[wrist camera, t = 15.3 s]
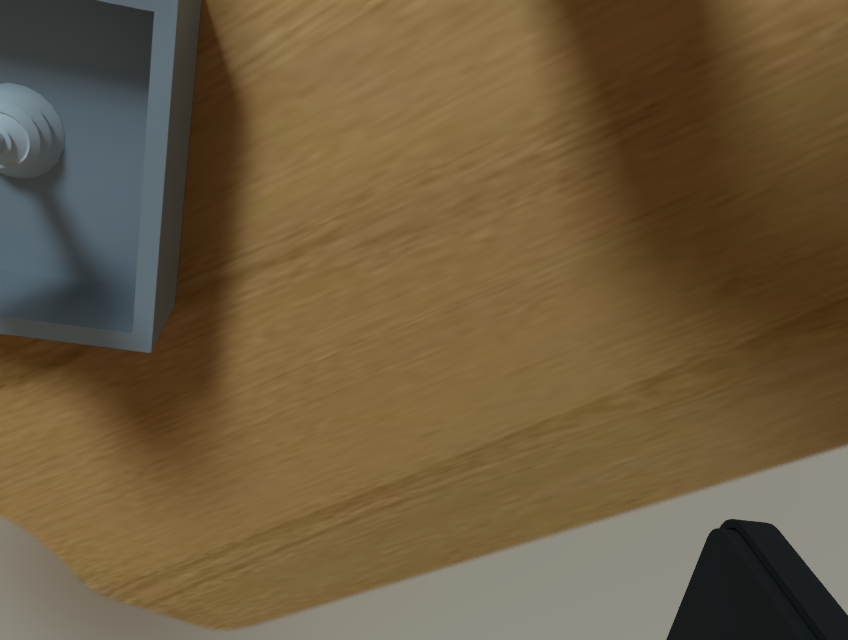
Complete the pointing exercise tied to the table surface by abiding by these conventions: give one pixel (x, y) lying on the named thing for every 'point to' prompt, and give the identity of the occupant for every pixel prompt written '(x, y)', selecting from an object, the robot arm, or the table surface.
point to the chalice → (28, 132)
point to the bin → (99, 169)
